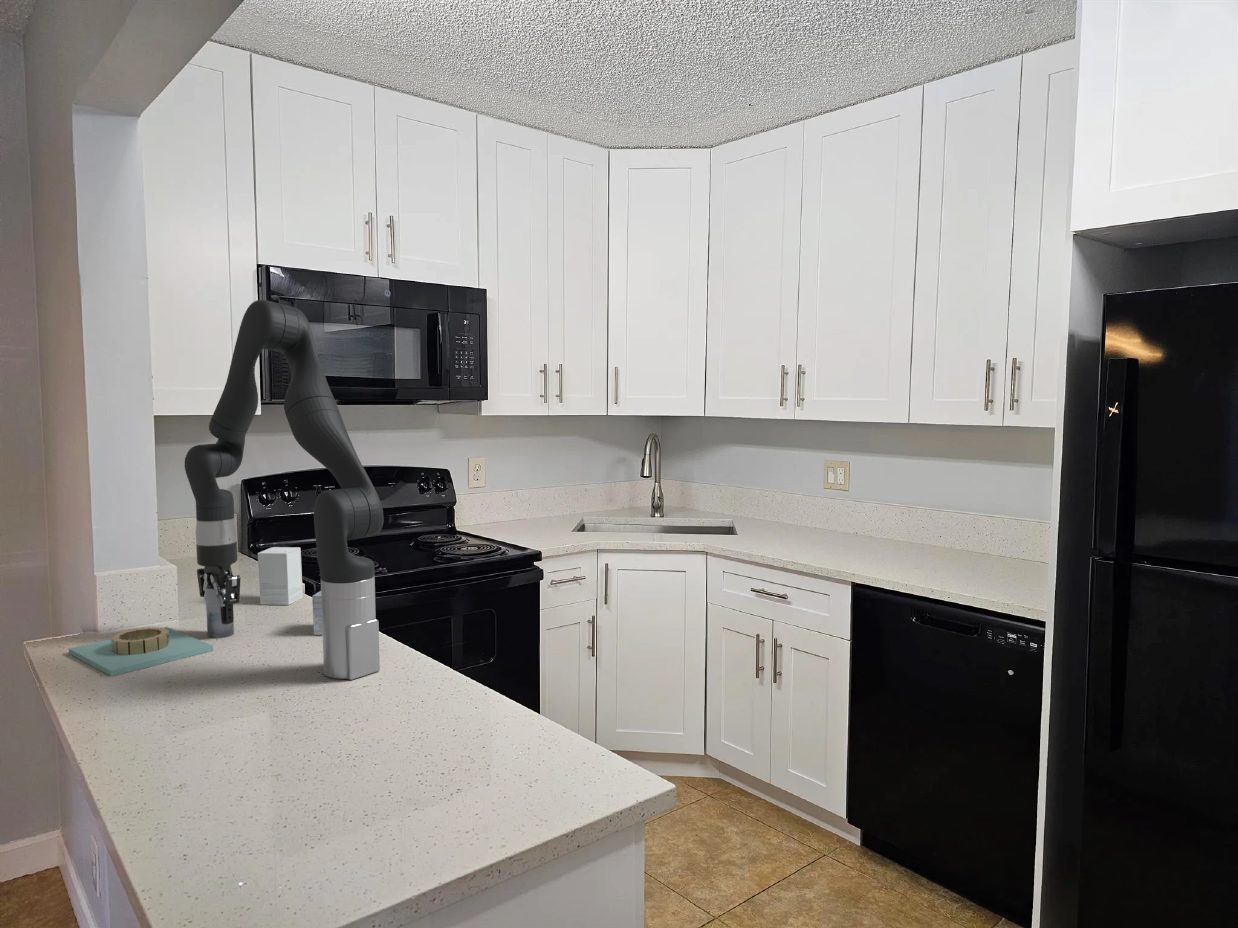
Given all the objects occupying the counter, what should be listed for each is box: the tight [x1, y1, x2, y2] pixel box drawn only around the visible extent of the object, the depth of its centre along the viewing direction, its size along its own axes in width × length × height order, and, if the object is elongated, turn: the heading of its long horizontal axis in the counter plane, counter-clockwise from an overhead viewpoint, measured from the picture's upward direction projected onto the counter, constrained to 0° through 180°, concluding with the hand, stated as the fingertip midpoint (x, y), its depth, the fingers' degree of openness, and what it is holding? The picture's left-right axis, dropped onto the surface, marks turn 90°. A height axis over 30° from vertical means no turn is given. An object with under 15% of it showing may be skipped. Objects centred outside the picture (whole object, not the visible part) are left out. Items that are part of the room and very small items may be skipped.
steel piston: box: [205, 587, 235, 639], centre depth 169 cm, size 5×5×10 cm
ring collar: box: [111, 626, 169, 655], centre depth 158 cm, size 9×9×2 cm
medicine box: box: [311, 590, 322, 636], centre depth 173 cm, size 8×4×9 cm, turn 179°
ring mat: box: [68, 626, 214, 677], centre depth 158 cm, size 20×18×1 cm
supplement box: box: [257, 546, 304, 606], centre depth 195 cm, size 7×7×13 cm
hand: (220, 620), depth 169 cm, fingers open, 5 cm apart
